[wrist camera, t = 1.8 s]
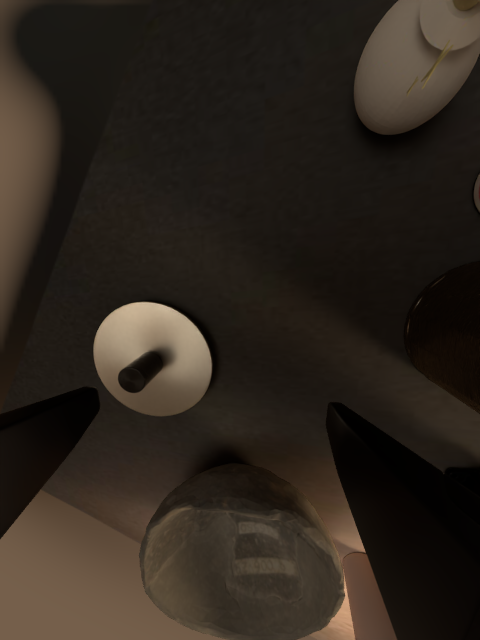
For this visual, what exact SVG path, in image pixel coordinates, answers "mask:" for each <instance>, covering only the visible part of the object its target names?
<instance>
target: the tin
mask: <svg viewBox="0 0 480 640" xmlns="http://www.w3.org/2000/svg"><path fill="white" fill-rule="evenodd" d="M404 344H405V349H406V351H407V354H408V356H409V358H410V360H411V362H412V363H413V364H414V366H415V367H416V368H417V369H418V370H419V371H420V372H421V373H423V374H424V375H425V376H426V377H427V378H428V379H429V380H431V381H432V382H434V383H435V384H437V385H438V386H440V387H441V388H442V389H444V390H445V391H447V392H448V393H450V394H451V395H453V396H454V397H456V398H457V399H459V400H460V401H462V402H463V403H465V404H466V405H467V406H469V407H470V408H472V409H473V410H475V411H476V412H478V413H479V414H480V261H478V262H473V263H469V264H465V265H462V266H459V267H457V268H455V269H452V270H450V271H448V272H447V273H445V274H443V275H441V276H440V277H439V278H437V279H436V280H434V281H433V282H432V283H431V284H430V285H428V286H427V287H426V288H425V289H424V290H423V291H422V293H421V294H420V295H419V296H418V298H417V299H416V300H415V302H414V303H413V305H412V307H411V309H410V311H409V313H408V316H407V318H406V322H405V327H404Z"/></svg>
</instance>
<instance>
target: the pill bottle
mask: <svg viewBox="0 0 480 640" xmlns="http://www.w3.org/2000/svg"><path fill="white" fill-rule="evenodd" d="M474 202H475V205H476V207H477V209H478V211H479V212H480V174H479V175H478V178H477V180H476V183H475V187H474Z"/></svg>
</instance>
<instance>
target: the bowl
mask: <svg viewBox="0 0 480 640" xmlns="http://www.w3.org/2000/svg"><path fill="white" fill-rule="evenodd" d="M139 558H140V567H141V575H142V581H143V585H144V589H145V592H146V594H147V595H148V596H149V598H150V599H151V600H152V601H153V603H154V604H155V605H156V606H157V607H158V608H159V609H160V610H161V611H162V612H163V613H165V614H166V615H167V616H168V617H170V618H171V619H173V620H175V621H177V622H178V623H180V624H182V625H184V626H186V627H188V628H190V629H192V630H195V631H198V632H201V633H205V634H210V635H213V636H216V637H220V638H224V639H228V640H296V639H299V638H302V637H305V636H307V635H309V634H311V633H313V632H316V631H319V630H321V629H323V628H324V627H325V626H327V625H328V623H329V622H330V620H331V618H333V617H334V616H335V615H336V614H337V612H338V611H339V609H340V608H341V605H342V603H343V600H344V598H345V593H344V575H343V568H342V564H341V561H340V558H339V555H338V552H337V549H336V547H335V545H334V543H333V541H332V538H331V536H330V533H329V531H328V530H327V528H326V526H325V524H324V522H323V521H322V519H321V518H320V517H319V515H318V513H317V512H316V510H315V508H314V507H313V506H312V504H311V503H310V502H309V501H308V500H307V498H306V497H305V496H304V495H303V494H302V493H301V492H300V491H299V490H298V489H297V488H295V487H294V486H292V485H291V484H290V483H288V482H286V481H284V480H283V479H281V478H279V477H277V476H276V475H275V474H273V473H272V472H270V471H268V470H266V469H264V468H261V467H256V466H250V465H246V464H238V463H230V464H226V465H222V466H218V467H214V468H211V469H208V470H206V471H204V472H202V473H199V474H197V475H195V476H193V477H192V478H190V479H188V480H187V481H185V482H184V483H182V484H181V485H180V486H178V487H177V488H175V489H174V490H173V491H172V492H171V493H170V494H169V495H168V496H167V497H166V498H165V499H164V500H163V502H162V503H161V505H160V506H159V508H158V510H157V511H156V513H155V514H154V516H153V517H152V518H151V520H150V522H149V524H148V526H147V528H146V533H145V536H144V538H143V540H142V544H141V548H140V553H139Z"/></svg>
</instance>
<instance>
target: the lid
mask: <svg viewBox="0 0 480 640" xmlns="http://www.w3.org/2000/svg"><path fill="white" fill-rule="evenodd" d="M93 354H94V362H95V366H96V369H97V372H98V375H99V377H100V379H101V381H102V382H103V384H104V385H105V387H106V388H107V389H108V391H109V392H110V393H111V394H112V395H113V396H114V397H115V398H116V399H117V400H118V401H120V402H121V403H122V404H124V405H125V406H127V407H129V408H131V409H133V410H135V411H137V412H140V413H143V414H147V415H152V416H170V415H175V414H179V413H181V412H184V411H186V410H188V409H189V408H191V407H192V406H194V405H195V404H196V403H197V402H198V401H199V400H200V399H201V398H202V397H203V395H204V394H205V392H206V391H207V389H208V387H209V384H210V381H211V378H212V373H213V357H212V352H211V348H210V346H209V343H208V340H207V339H206V337H205V335H204V333H203V332H202V330H201V329H200V328H199V326H198V325H197V324H196V323H195V322H194V321H193V320H192V319H191V318H190V317H189V316H187V315H186V314H185V313H183V312H182V311H180V310H178V309H176V308H174V307H172V306H170V305H167V304H164V303H160V302H154V301H139V302H134V303H130V304H127V305H124V306H121V307H120V308H118V309H116V310H114V311H113V312H112V313H110V314H109V315H108V316H107V317H106V318H105V319H104V321H103V322H102V324H101V325H100V327H99V329H98V331H97V333H96V337H95V340H94V349H93Z"/></svg>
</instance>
